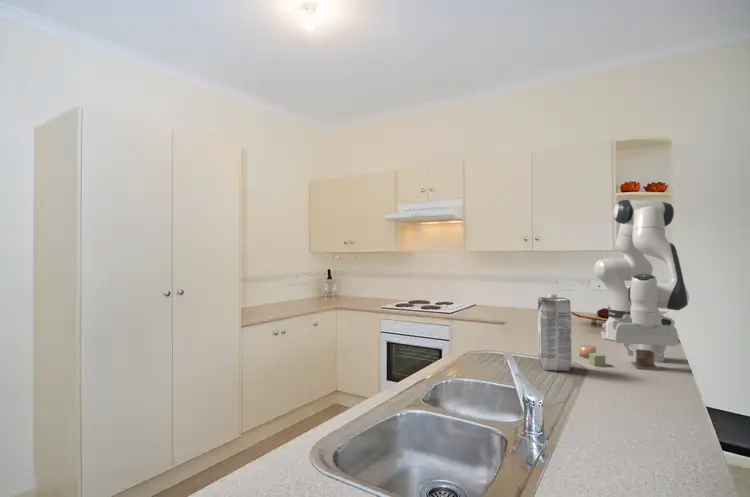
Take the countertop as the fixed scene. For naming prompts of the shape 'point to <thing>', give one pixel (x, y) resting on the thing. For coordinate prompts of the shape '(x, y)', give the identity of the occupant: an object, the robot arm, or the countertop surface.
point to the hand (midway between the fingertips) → (644, 356)
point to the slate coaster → (644, 366)
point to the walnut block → (645, 358)
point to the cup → (654, 349)
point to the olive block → (597, 359)
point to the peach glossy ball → (586, 350)
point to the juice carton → (554, 333)
